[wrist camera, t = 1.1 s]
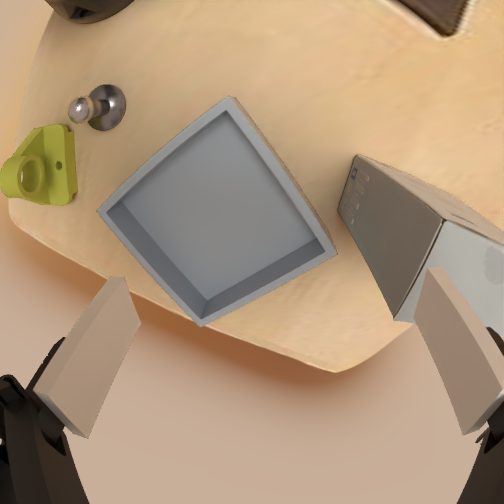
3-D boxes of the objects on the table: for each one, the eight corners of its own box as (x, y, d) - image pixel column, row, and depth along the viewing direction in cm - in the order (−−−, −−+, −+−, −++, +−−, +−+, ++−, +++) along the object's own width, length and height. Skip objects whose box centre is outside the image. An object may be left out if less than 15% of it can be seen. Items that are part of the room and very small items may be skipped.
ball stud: (80, 108, 30) (46, 112, 24) (109, 75, 28) (77, 72, 22) (103, 139, 32) (71, 148, 26) (134, 107, 30) (104, 109, 24)
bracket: (78, 200, 36) (35, 228, 27) (50, 199, 36) (7, 225, 27) (73, 121, 31) (23, 132, 22) (44, 126, 31) (-5, 139, 22)
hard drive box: (335, 211, 35) (387, 320, 17) (355, 152, 31) (443, 211, 13) (433, 243, 35) (511, 340, 18) (454, 194, 32) (553, 270, 14)
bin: (115, 197, 36) (96, 211, 31) (235, 97, 29) (228, 95, 25) (207, 304, 42) (200, 327, 38) (330, 235, 36) (337, 254, 32)
